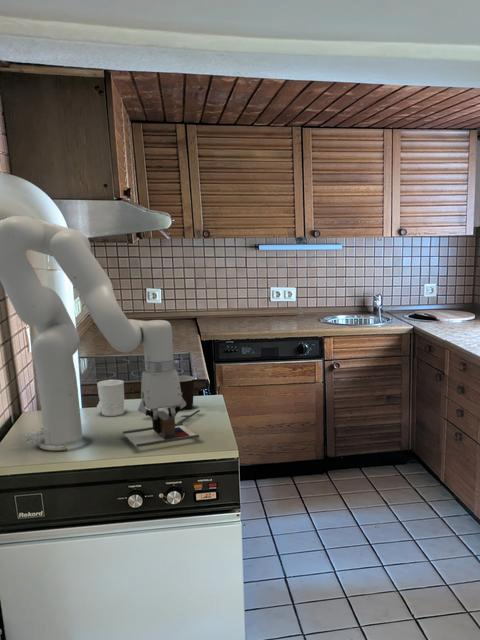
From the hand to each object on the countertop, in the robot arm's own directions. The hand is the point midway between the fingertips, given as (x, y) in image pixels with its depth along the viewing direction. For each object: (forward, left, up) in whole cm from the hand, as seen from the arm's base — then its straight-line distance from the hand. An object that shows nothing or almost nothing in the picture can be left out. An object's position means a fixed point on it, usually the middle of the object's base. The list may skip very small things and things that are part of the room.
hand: (164, 430), depth 194 cm
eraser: (0, 0, -1) cm, 1 cm away
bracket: (+7, +19, -3) cm, 21 cm away
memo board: (-1, 0, -3) cm, 3 cm away
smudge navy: (+3, +2, -1) cm, 4 cm away
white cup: (-6, +35, -3) cm, 36 cm away
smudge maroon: (+3, -2, -1) cm, 4 cm away
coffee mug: (+14, +31, -3) cm, 34 cm away
